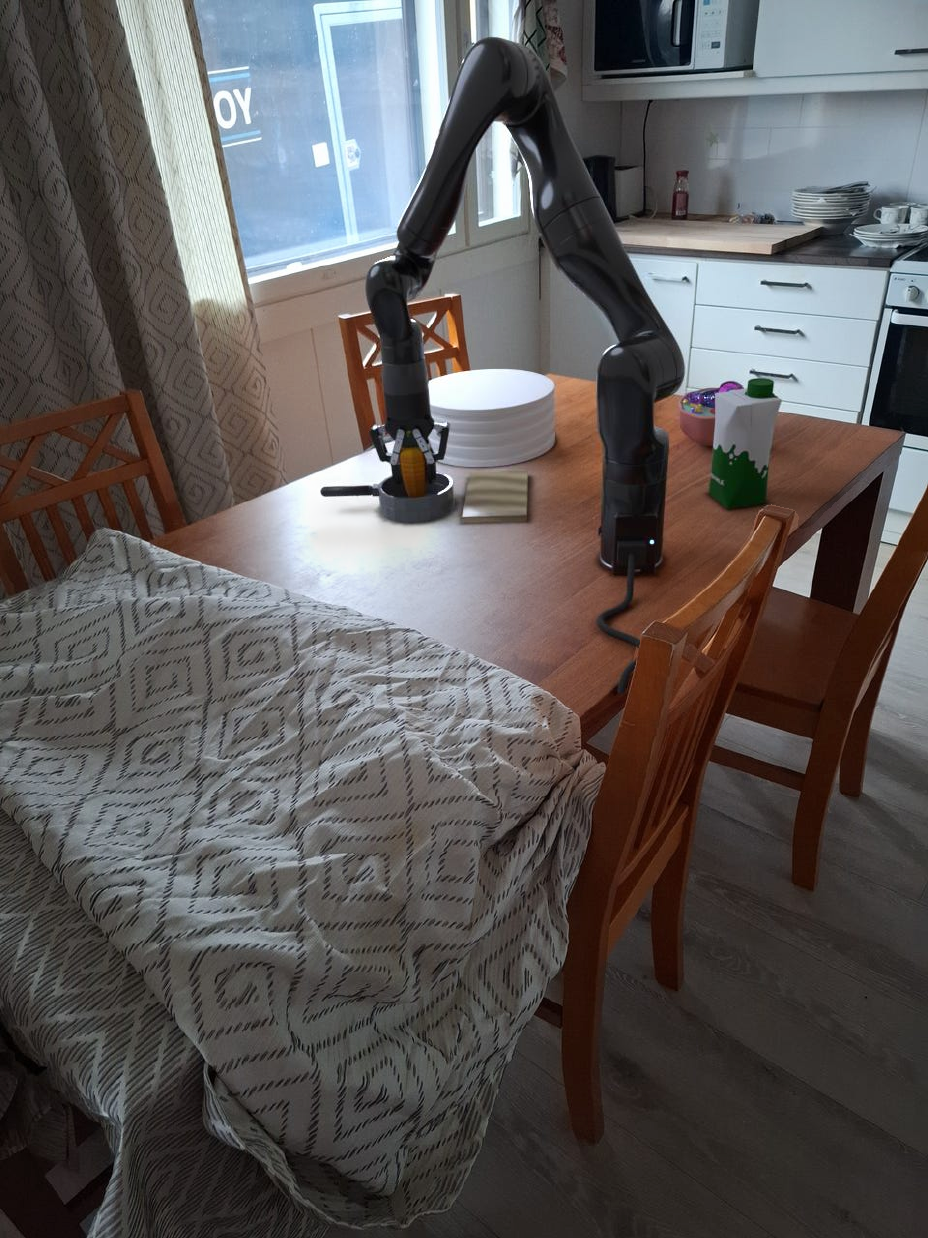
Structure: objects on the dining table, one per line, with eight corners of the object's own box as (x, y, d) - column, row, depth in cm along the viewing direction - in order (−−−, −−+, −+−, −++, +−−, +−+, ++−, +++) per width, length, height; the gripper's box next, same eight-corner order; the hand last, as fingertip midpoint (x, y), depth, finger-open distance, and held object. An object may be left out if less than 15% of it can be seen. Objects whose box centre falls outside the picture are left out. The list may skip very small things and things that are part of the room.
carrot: (398, 507, 153) (388, 426, 145) (417, 498, 156) (409, 418, 148) (417, 514, 150) (408, 431, 142) (437, 504, 153) (430, 423, 145)
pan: (451, 522, 147) (449, 498, 144) (375, 524, 148) (372, 500, 146) (457, 491, 158) (455, 468, 156) (386, 494, 159) (384, 471, 157)
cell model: (653, 446, 171) (656, 390, 166) (711, 420, 182) (716, 366, 177) (727, 466, 160) (733, 406, 155) (784, 437, 171) (791, 380, 166)
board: (526, 521, 145) (526, 515, 145) (462, 523, 146) (461, 516, 146) (527, 476, 162) (527, 470, 162) (469, 478, 163) (469, 472, 163)
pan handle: (382, 492, 153) (381, 483, 152) (380, 496, 151) (379, 487, 150) (322, 494, 154) (320, 484, 153) (320, 498, 152) (318, 489, 151)
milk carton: (773, 504, 145) (789, 386, 134) (724, 512, 143) (736, 394, 133) (747, 485, 152) (760, 372, 142) (700, 492, 151) (709, 379, 140)
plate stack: (436, 475, 165) (431, 417, 159) (410, 430, 189) (405, 378, 183) (573, 455, 170) (574, 398, 164) (531, 413, 194) (530, 362, 188)
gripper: (359, 394, 139) (371, 492, 148) (446, 391, 138) (454, 489, 147) (366, 381, 146) (378, 475, 154) (450, 377, 144) (457, 473, 153)
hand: (415, 481), depth 151 cm, fingers closed on carrot, 5 cm apart
